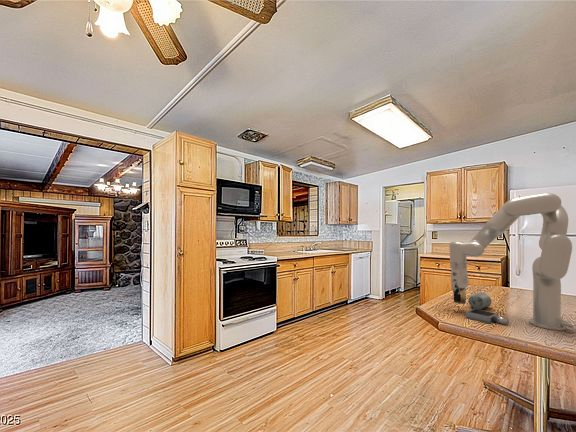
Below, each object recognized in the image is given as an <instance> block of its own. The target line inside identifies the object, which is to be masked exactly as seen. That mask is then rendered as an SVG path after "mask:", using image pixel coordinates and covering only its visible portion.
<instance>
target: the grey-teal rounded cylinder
mask: <svg viewBox="0 0 576 432" xmlns="http://www.w3.org/2000/svg"><path fill="white" fill-rule="evenodd" d="M467 301H468V304H469V306H471V308H472V309H474V308H475V309H479V310H483V309H485V308H488V307H491V305H492V299H491V296H489V295H488V294H487V293H485V292H476V293H474V294H471V295H469V296H468V300H467Z"/></svg>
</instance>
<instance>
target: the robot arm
mask: <svg viewBox="0 0 576 432" xmlns="http://www.w3.org/2000/svg"><path fill="white" fill-rule="evenodd" d="M538 214H540V215H541V216H542V228H541V233H540V237H539V240H538V247H539V248H540V250H541V254H540V256H539V257H536V259H534V261H533V263H532V268H531V269H532V270H531V271H532V282H533V284H532V291H533V292H532V318H529V319H528V323H529V325H530V324H531V325H532V326H535V327H538V328H541V329H542V328H543V329H546V330H553V331H564V330H566V327H568V328H572V329H575V323H574V322H571V321H565V319H564V318H563V317H562V315H561V314H562V313H561V312H562V308H561V307H562V301H561V300H562V283H561V281H562V280H561V279H563V278H564V277H566V275H567V273H568V271H569V266H570V262H571V261H570V260H571V256H572V252H573V244H572V241H571V239H570V238H569V237H568V236H567V234H568V228H569V216H568V213H567V211H566V209H565V208H564V206H563V205H562V200H561V198H560V196H559V195H557V194H554V193H551V192H547V193H541V194H540V193H539V194H532V195H527V196H521V197H514V198H510V199H508V200H507V201H506V202H504V204H503V205H501V207H500V208H499V209H498V210H497V211H496V212H495V213H494V214H493V215H492V216H491V218H489V219H488V220H487V222H486V223H485V224H484V225H483V227H482V228H481V229H480V230H479V231H478V232H477V233H476V234H475V235H474V236H473V237H472V238H471V240H470V241H468V242H464V241H450V243H449V248H448V249H449V268H450V269H451V271H450V286H451V290H452V294H453V302H454V301H455V302H461V294H460V289H463V288H465V296H467V295H466V293H467V292H466V291H467V290H466V289H467V288H468V287H469V275H468V265H467V264H468V262H467V257H474V258H475V257H480V256H482V255H483V254H484V252H485V249H487V247H488V246H489V245H490V244H491V243H492V242H493V241H494V240H495V239H497V238H498V237H501V236H502V235H504V233H505V232H506V231H507V230H509V228H510V227H511V226H512V225H513V224H514V223H515V222H516V221H517V220H518V219H519V218H520V217H521V216H522V217H524V216H531V215H538ZM456 287H458V288H456ZM457 289H458V290H457ZM455 302H454V303H455Z"/></svg>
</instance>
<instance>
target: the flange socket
mask: <svg viewBox="0 0 576 432" xmlns="http://www.w3.org/2000/svg"><path fill="white" fill-rule="evenodd" d="M465 319H468V320H472V321H477V322H481V323H483V324H484V323H485V324H488V325H491V324H493V323H497V324H501V325H504V326H509V324H510V319H509V317H506V316H500V315H499V313H497V312H492V311H487V310H483V309H480V310H479V309H475V308H471V309H469V310H467V311H465Z"/></svg>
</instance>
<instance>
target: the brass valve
mask: <svg viewBox="0 0 576 432" xmlns="http://www.w3.org/2000/svg"><path fill="white" fill-rule="evenodd" d="M456 288H458V287H456ZM457 290H458V289H457ZM465 293H466V292H465V288H463V289H460V294H461V302H455V301H454V300H453V302H454V304H461V305H462V304H463V305H464V304H466V303H467V297H466V296H467V295H466V296H465Z"/></svg>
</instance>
